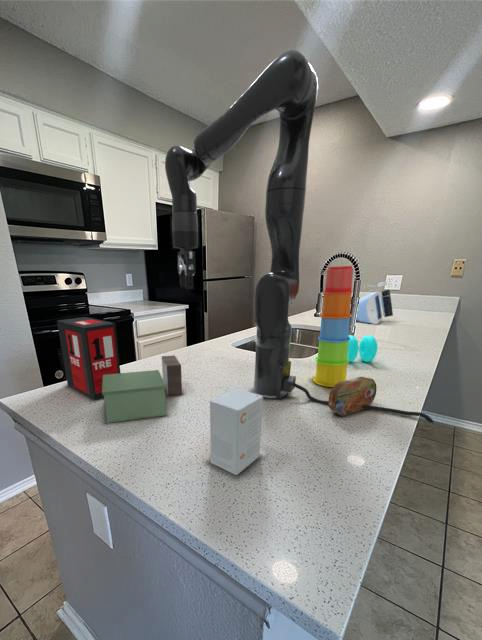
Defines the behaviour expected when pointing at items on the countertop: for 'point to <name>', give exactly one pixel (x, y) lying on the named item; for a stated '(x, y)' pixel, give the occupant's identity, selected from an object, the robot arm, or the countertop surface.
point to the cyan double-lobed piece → (362, 348)
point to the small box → (235, 429)
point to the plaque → (172, 375)
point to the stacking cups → (334, 327)
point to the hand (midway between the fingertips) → (186, 288)
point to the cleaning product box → (88, 353)
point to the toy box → (133, 395)
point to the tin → (352, 395)
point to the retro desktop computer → (374, 306)
